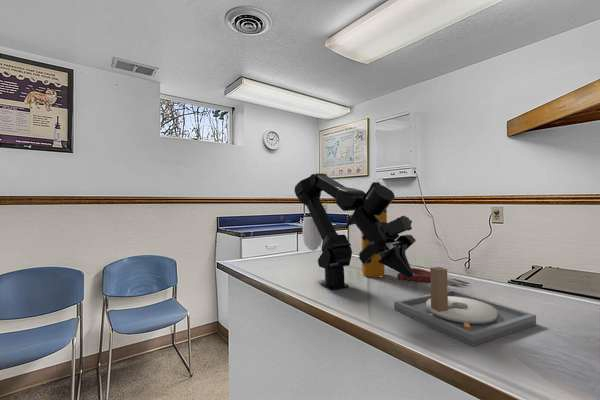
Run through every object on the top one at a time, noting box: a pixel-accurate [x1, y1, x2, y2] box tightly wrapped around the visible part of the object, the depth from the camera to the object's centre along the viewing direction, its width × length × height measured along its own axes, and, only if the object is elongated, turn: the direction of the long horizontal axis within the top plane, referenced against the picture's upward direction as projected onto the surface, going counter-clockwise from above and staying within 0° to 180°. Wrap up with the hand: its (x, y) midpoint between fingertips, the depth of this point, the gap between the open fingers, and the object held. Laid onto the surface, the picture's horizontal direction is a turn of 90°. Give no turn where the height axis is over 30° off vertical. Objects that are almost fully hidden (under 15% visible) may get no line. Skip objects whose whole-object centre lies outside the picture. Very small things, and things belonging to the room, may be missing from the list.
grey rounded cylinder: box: [302, 216, 323, 251], centre depth 105 cm, size 7×7×21 cm
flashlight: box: [360, 207, 388, 278], centre depth 104 cm, size 10×26×10 cm
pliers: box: [396, 267, 470, 287], centre depth 95 cm, size 12×20×3 cm, turn 45°
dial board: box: [393, 289, 537, 347], centre depth 67 cm, size 20×20×2 cm
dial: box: [426, 266, 497, 324], centre depth 67 cm, size 14×14×10 cm
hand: (411, 276), depth 70 cm, fingers closed
